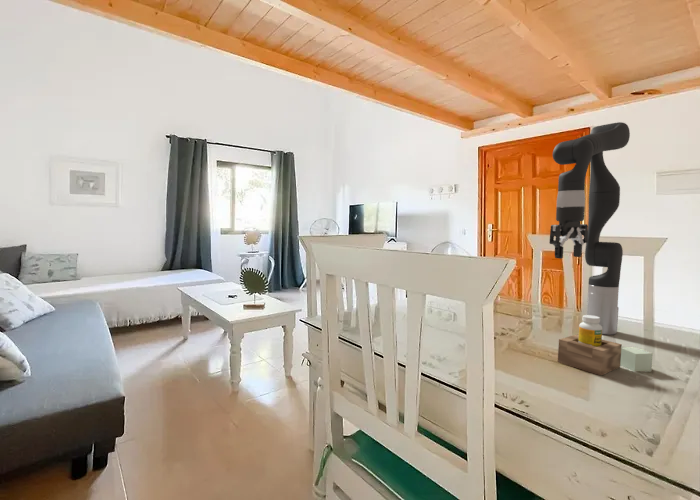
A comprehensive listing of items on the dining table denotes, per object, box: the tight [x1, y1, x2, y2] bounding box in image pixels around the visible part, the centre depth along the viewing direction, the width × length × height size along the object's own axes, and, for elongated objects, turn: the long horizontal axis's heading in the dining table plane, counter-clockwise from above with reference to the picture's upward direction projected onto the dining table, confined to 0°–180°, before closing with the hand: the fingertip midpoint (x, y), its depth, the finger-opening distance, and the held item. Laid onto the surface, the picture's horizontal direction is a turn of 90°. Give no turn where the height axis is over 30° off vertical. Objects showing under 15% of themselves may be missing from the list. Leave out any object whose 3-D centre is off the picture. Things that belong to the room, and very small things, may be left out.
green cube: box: [620, 346, 654, 372], centre depth 99 cm, size 5×5×5 cm
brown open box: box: [557, 333, 623, 376], centre depth 101 cm, size 11×11×6 cm
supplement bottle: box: [578, 314, 603, 347], centre depth 100 cm, size 5×5×10 cm
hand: (568, 257), depth 113 cm, fingers open, 8 cm apart
